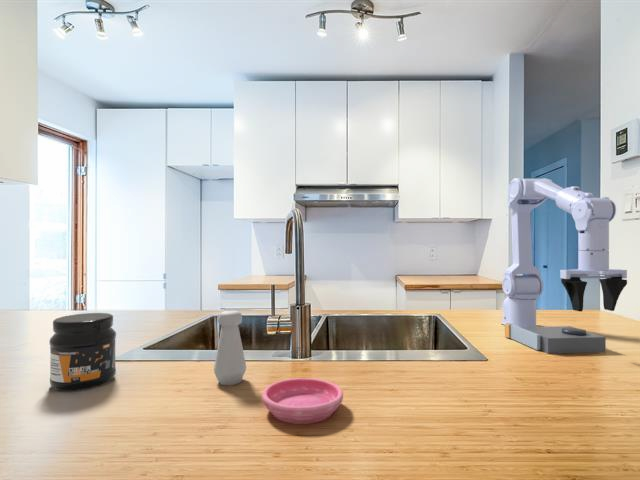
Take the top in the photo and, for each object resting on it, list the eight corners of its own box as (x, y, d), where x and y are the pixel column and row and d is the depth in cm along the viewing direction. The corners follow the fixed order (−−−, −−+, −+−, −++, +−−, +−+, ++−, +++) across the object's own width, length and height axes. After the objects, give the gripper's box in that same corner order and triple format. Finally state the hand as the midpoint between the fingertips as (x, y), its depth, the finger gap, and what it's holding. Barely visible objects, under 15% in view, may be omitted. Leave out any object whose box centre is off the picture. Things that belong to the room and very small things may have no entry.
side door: (504, 336, 104) (504, 323, 104) (509, 336, 104) (508, 323, 104) (535, 350, 91) (535, 335, 91) (540, 350, 91) (540, 335, 91)
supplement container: (38, 396, 65) (38, 325, 65) (62, 375, 76) (62, 313, 76) (108, 389, 68) (108, 321, 68) (121, 370, 78) (121, 310, 78)
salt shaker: (242, 387, 69) (242, 314, 69) (210, 387, 69) (210, 314, 69) (249, 376, 75) (248, 308, 75) (219, 376, 75) (219, 308, 75)
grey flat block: (518, 340, 101) (518, 324, 101) (570, 339, 102) (570, 323, 102) (548, 353, 89) (548, 334, 89) (605, 352, 90) (605, 333, 90)
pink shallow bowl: (300, 389, 69) (299, 371, 69) (358, 408, 61) (358, 388, 61) (244, 413, 59) (244, 393, 59) (306, 440, 51) (306, 416, 51)
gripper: (576, 251, 84) (576, 314, 84) (638, 250, 85) (639, 313, 85) (553, 250, 91) (554, 308, 91) (612, 250, 92) (612, 307, 92)
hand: (593, 310), depth 88 cm, fingers open, 7 cm apart
